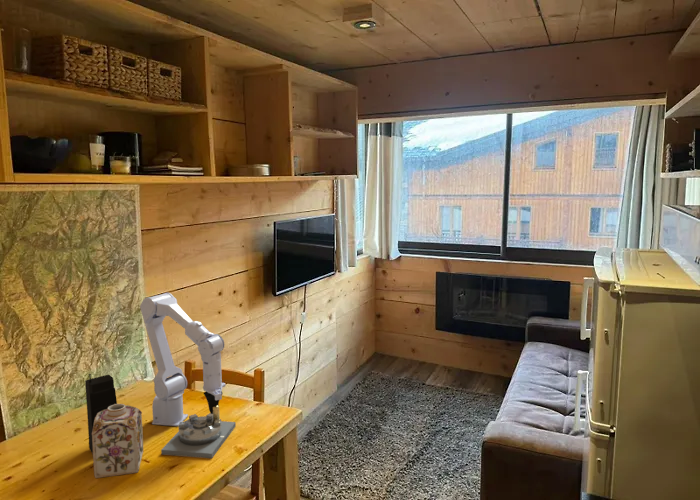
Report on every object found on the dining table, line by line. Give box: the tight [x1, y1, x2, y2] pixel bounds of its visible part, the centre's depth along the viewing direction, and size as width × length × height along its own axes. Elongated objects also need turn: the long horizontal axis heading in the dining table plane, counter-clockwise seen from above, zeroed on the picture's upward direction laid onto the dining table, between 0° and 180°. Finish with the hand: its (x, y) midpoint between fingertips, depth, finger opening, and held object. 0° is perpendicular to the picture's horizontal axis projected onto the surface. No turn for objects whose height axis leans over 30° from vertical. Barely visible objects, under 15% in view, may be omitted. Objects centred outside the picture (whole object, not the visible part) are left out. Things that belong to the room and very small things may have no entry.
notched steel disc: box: [177, 405, 222, 445], centre depth 160 cm, size 13×13×8 cm
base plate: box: [160, 420, 236, 459], centre depth 161 cm, size 16×20×2 cm
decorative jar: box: [91, 403, 144, 479], centre depth 145 cm, size 12×12×18 cm
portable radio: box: [84, 373, 118, 454], centre depth 154 cm, size 8×6×25 cm
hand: (213, 412), depth 165 cm, fingers closed
